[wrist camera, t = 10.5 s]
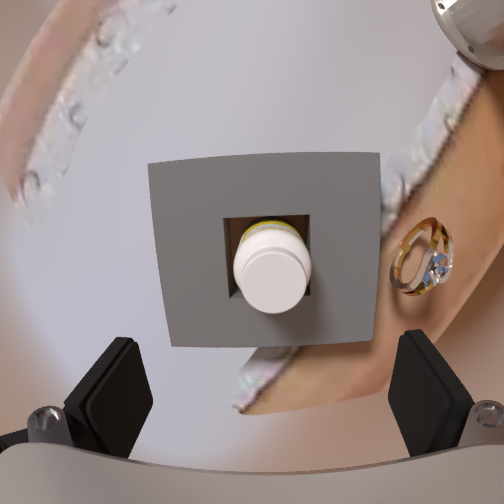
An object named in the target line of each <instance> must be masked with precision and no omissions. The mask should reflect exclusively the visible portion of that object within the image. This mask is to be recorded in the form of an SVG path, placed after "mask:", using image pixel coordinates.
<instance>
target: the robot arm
mask: <svg viewBox="0 0 504 504" xmlns="http://www.w3.org/2000/svg"><path fill="white" fill-rule="evenodd" d="M431 5H432V10H433V12H434V15H435V18H436V20H437V22H438V24H439V25H440V27H441V29H442V31H443V32H444V34H445V35H446V36H447V38H448V39H449V40H450V41H451V43H452V44H453V45H454V46H455V47H456V48H457V49H458V50H459V51H460V52H461V53H462V54H463V55H464V56H465V57H467V58H468V59H469V60H470V61H472V62H473V63H475V64H477V65H478V66H480V67H482V68H485V69H487V70H492V71H501V70H504V0H431ZM388 400H389V404H390V407H391V409H392V411H393V414H394V416H395V419H396V421H397V424H398V426H399V428H400V431H401V434H402V436H403V439H404V441H405V444H406V447H407V449H408V452H409V455H410V457H409V458H404V459H398V460H393V461H387V462H381V463H375V464H369V465H362V466H355V467H346V468H337V469H328V470H315V471H296V472H233V471H215V470H202V469H192V468H183V467H175V466H167V465H160V464H154V463H147V462H142V461H136V460H131V459H128V457H129V455H130V453H131V451H132V449H133V446H134V444H135V442H136V440H137V438H138V436H139V433H140V431H141V429H142V427H143V425H144V423H145V421H146V418H147V416H148V414H149V412H150V410H151V408H152V405H153V397H152V394H151V390H150V387H149V383H148V380H147V376H146V373H145V369H144V365H143V362H142V358H141V354H140V350H139V346H138V344H137V342H134V340H133V339H132V338H127V337H116V338H115V339H114V341H113V342H112V343H111V344H110V345H109V347H108V348H107V349H106V350H105V352H104V353H103V354H102V355H101V356H100V358H99V359H98V360H97V361H96V362H95V364H94V365H93V366H92V367H91V369H90V370H89V371H88V372H87V373H86V375H85V376H84V377H83V378H82V380H81V381H80V382H79V383H78V385H77V386H76V387H75V388H74V390H73V391H72V392H71V394H70V395H69V396H68V397H67V399H66V400H65V401H64V404H65V407H64V408H63V409H60V408H59V407H56V406H44V407H41V408H39V409H37V410H35V411H34V412H33V413H32V414H31V415H30V416H29V418H28V421H27V428H26V429H23V430H20V431H16V432H13V433H9V434H6V435H2V436H0V504H504V406H503V405H502V404H500V403H499V402H496V401H492V400H482V401H479V402H477V403H474V401H473V399H472V398H471V395H470V394H469V393H468V391H467V390H466V388H465V387H464V385H463V384H462V383H461V381H460V380H459V378H458V377H457V376H456V374H455V373H454V372H453V370H452V369H451V368H450V366H449V365H448V364H447V362H446V361H445V360H444V358H443V357H442V356H441V354H440V353H439V352H438V350H437V349H436V348H435V346H434V345H433V344H432V343H431V341H430V340H429V339H428V337H427V336H426V335H425V334H424V332H423V331H422V330H421V329H417V330H408V331H405V333H404V335H401V336H400V338H399V343H398V349H397V354H396V359H395V364H394V369H393V374H392V379H391V383H390V388H389V392H388Z"/></svg>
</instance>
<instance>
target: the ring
mask: <svg viewBox="0 0 504 504" xmlns="http://www.w3.org/2000/svg"><path fill="white" fill-rule="evenodd" d="M430 229H432V236H431V241H430V246H429V249H428V250H427V252H426V253H425V254H424V256H423V258H422V261H421V263H420V266H419V269H418V271H417V273H416V275H415V277H414V278H413V279H412V280H411V281H410V282H408V283H403V282H402V279H401V275H400V268H401V264H402V261H403V258H404V256H405V254H406V253H408V252H409V250H410V249H411V245H412V243H413V242H414V241H415V240H416V239H417V238H418V237H419V236H420V235H421V234H422V233H424V232H425V231H427V230H430ZM441 235H442V238H443V242H444V253H439V254H437V250H436V247H437V245H438V243H439V240H440V236H441ZM443 257H444V263H443V266H442V265H441V264H439V263H440V262H441V261H442V260H443ZM429 260H430V261H429ZM427 265H428V266H427ZM452 265H453V241H452V237H451V235H450V233H449V231H448V230H447V228H446V227H445V226H444V225H443V224H442V223H440V222H439V221H438V220H437V219H436V218H434V217H430V218H427V219H424V220H423V221H421V222H420V223H418V224H417V225H416V226H415V227H414V228H413V229H412V230H411V231H410V232H409V233H408V234H407V235H406V237H405V238H404V239H403V240H401V241H400V243H399V244H398V249H397V250H396V252H395V255H394V257H393V260H392V263H391V267H390V281H391V283H392V285H393V286H394V287H395V288H396V289H398V290H399V291H401V292H402V293H404V294H405V295H408V296H418V295H421V294H424V293H426V292H427V291H429V290H430V289H432V288H433V287H434V286H436V285H437V284H443V283H444V282H446V281H447V279H448V278H449V276H450V274H451V270H452ZM439 273H441V274H439ZM421 280H422V282H421ZM420 282H421V283H420Z"/></svg>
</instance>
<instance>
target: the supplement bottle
mask: <svg viewBox="0 0 504 504" xmlns="http://www.w3.org/2000/svg"><path fill="white" fill-rule="evenodd" d="M311 268H312V267H311V259H310V255H309V252H308V250H307V248H306V246H305V244H304V242H303V240H302V238H301V236H300V234H299V232H298V231H297V229H296V228H295V227H294V226H293V225H292V224H291V223H290V222H289V221H287V220H285V219H283V218H280V217H277V216H265V217H261V218H259V219H257V220H255V221H253V222H252V223H251V224H250V225H249V226H248V227H247V228H246V229H245V231H244V233H243V235H242V237H241V240H240V243H239V246H238V249H237V252H236V255H235V259H234V266H233V270H234V277H235V280H236V283H237V285H238V286H239V288H240V289H241V291H242V293H243V295H244V297H245V299H246V300H247V302H248V303H249V304H250V305H251V306H253V307H254V308H255V309H257V310H259V311H262V312H265V313H272V314H273V313H282V312H285V311H287V310H289V309H291V308H293V307H294V306H295V305H296V304H297V303H298V302H299V301H300V300H301V298H302V297H303V295H304V293H305V290H306V286H307V284H308V282H309V279H310V276H311Z"/></svg>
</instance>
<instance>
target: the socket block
mask: <svg viewBox="0 0 504 504" xmlns="http://www.w3.org/2000/svg"><path fill="white" fill-rule="evenodd" d="M148 174H149V187H150V198H151V209H152V219H153V227H154V236H155V244H156V253H157V260H158V268H159V275H160V282H161V288H162V295H163V301H164V307H165V313H166V318H167V324H168V329H169V335H170V340H171V346H175V347H278V346H302V345H319V344H334V343H347V342H359V341H369V340H372V335H373V326H374V317H375V307H376V297H377V284H378V270H379V252H380V222H381V176H380V153H370V152H296V153H269V154H250V155H249V154H248V155H234V156H233V155H232V156H219V157H208V158H196V159H186V160H177V161H167V162H159V163H151V164H148ZM265 216H277V217H280V218H283V219H285V220H287V221H289V222H290V223H291V224H292V225H293V226H294V227H295V228H296V229H297V231H298V232H299V234H300V236H301V238H302V240H303V242H304V244H305V246H306V248H307V250H308V252H309V255H310V259H311V267H312V268H311V276H310V279H309V282H308V284H307V286H306V290H305V293H304V295H303V297H302V298H301V300H300V301H299V302H298V303H297V304H296V305H295V306H294V307H293V308H291V309H289V310H287V311H285V312H282V313H273V314H272V313H265V312H262V311H259V310H257V309H255V308H254V307H253V306H251V305H250V304H249V303H248V302H247V300H246V299H245V297H244V295H243V293H242V291H241V289H240V288H239V286H238V285H237V283H236V280H235V277H234V270H233V266H234V259H235V255H236V252H237V249H238V246H239V243H240V240H241V237H242V235H243V233H244V231H245V229H246V228H247V227H248V226H249V225H250V224H251V223H252V222H253V221H255V220H257V219H259V218H261V217H265Z"/></svg>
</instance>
